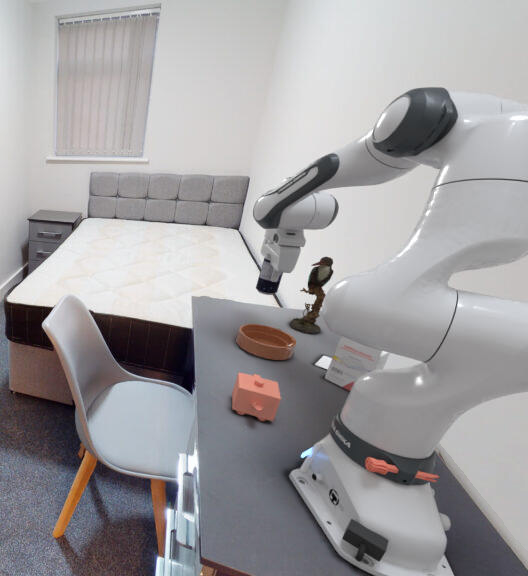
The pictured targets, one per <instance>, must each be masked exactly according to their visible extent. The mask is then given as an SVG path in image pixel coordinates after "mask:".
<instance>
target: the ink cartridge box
mask: <svg viewBox="0 0 528 576" xmlns="http://www.w3.org/2000/svg"><path fill="white" fill-rule="evenodd" d="M390 354H391V353H389V352H386V351H382V350H378V349H375V348H371V347H367V346H364V345H362V344H359V343H357V342H354V341H352V340H350V339H347V338H345V337H343V336H341V338H340V339H339V340H338V343H337V345H336V348H335V351H334V354H332V355H333V356H332V357H331V358H332V360H331V363H330V365H329V368H328V370H327V369H326V370H327V371H326V373H325V376H324V379H325V380H327V381H329V382H331V383H333V384H335V385H337V386H339V387H341V388H343V389H345V390H347V391H349V392H350V391H351V389H352V387H353V385H354V382H355V381H356V380H357V379H358V378H359V377H360V376H362V375H364V374H366V373H368V372H371V371H374V370H379V369H385V368H384V367H385V366H386V364H387V361H388V359H389V356H390Z"/></svg>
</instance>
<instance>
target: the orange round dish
mask: <svg viewBox="0 0 528 576" xmlns="http://www.w3.org/2000/svg"><path fill="white" fill-rule="evenodd" d="M235 342H236V344H237V345H238V347H240V348H241V349H242V350H244V351H246V352H247V353H249V354H251V355H254V356H256V357H259V358H262V359H266V360H267V359H268V360H274V361H284V360H289V359H290V358H292V357H293V354H294V351H295V348H296V345H297V340H296V338H295V337H294V336H293V335H291V334H290V333H288V332H286V331H284V330H282V329H279V328H276V327H274V326H270V325H266V324H260V323H244V324H242V325H240V326H239V328H238V332H237V335H236V339H235Z"/></svg>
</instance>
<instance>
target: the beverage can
mask: <svg viewBox="0 0 528 576" xmlns="http://www.w3.org/2000/svg"><path fill="white" fill-rule="evenodd" d="M270 260H271V256H269V255H268V254H267V256H266V257H265V258H264V257H263V261H262V265H261V268H260V272H259V276H258V278H257V282H256V286H255V289H256V290H257V292H258V293H259V294H262V295H267V296H273V295H275V294H277V293H278V291H279V287H280V284H281V281H282V279H283V278H282V277H283V275H284V273H283V272H282V274H281V275H280V276H279V279H278V281H277V282H272V281H271V280H270V276H271V274H272V273H273V271H274V270H273V268H274V267H273V266H272V265H271V264H270Z"/></svg>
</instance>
